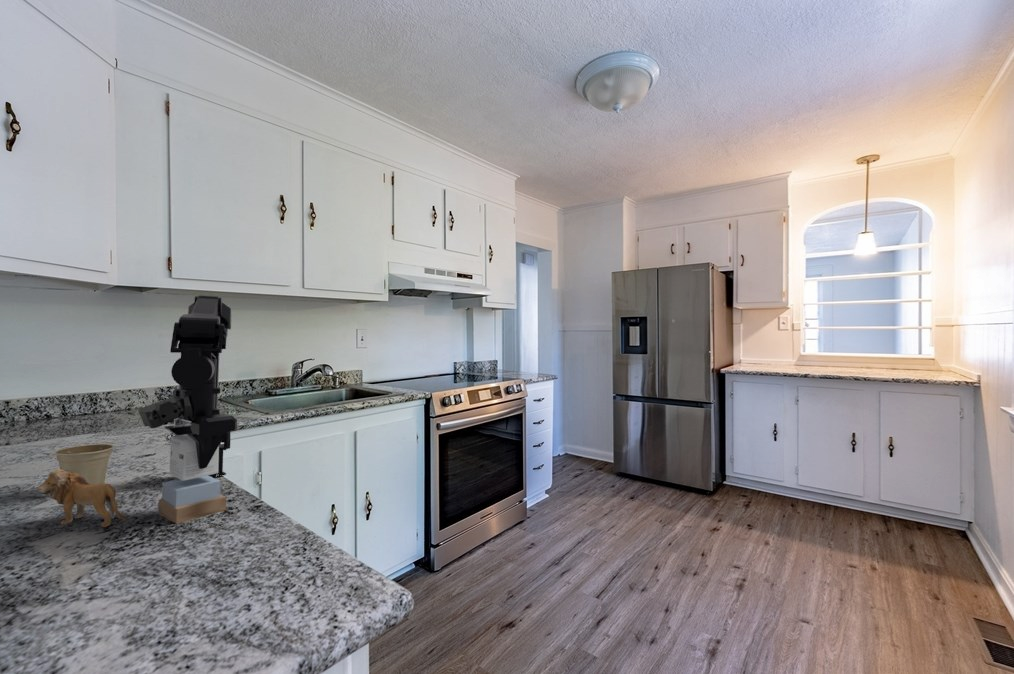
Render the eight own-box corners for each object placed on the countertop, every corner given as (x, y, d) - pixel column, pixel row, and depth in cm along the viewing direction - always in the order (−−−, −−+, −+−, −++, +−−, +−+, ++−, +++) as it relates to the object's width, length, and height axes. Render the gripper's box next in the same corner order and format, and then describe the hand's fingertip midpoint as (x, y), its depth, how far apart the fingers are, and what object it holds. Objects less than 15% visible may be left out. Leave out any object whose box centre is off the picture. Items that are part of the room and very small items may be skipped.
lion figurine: (29, 527, 74) (31, 474, 75) (60, 515, 80) (62, 465, 80) (116, 528, 75) (118, 475, 75) (142, 516, 80) (144, 466, 80)
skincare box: (168, 475, 82) (169, 436, 82) (205, 467, 87) (205, 430, 87) (182, 481, 79) (183, 440, 79) (219, 473, 84) (220, 434, 84)
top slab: (204, 489, 87) (205, 474, 87) (219, 496, 83) (220, 481, 83) (162, 498, 82) (162, 482, 82) (175, 507, 78) (176, 490, 78)
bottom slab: (206, 503, 88) (206, 488, 88) (225, 512, 84) (226, 496, 84) (158, 516, 81) (158, 499, 81) (176, 526, 77) (177, 509, 77)
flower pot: (83, 497, 89) (85, 454, 89) (38, 496, 89) (40, 453, 89) (125, 483, 98) (126, 444, 98) (83, 482, 98) (85, 443, 99)
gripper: (126, 382, 82) (123, 466, 81) (167, 389, 71) (164, 485, 71) (194, 379, 91) (191, 454, 91) (239, 385, 81) (237, 470, 80)
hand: (195, 465), depth 83 cm, fingers closed on skincare box, 6 cm apart
